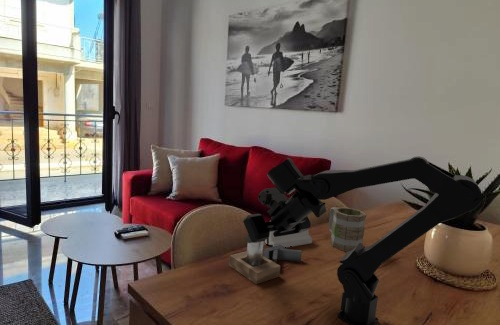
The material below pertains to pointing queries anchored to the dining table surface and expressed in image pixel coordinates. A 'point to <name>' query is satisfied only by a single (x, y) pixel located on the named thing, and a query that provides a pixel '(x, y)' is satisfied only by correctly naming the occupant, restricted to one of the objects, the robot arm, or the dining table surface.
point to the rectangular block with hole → (254, 268)
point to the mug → (346, 228)
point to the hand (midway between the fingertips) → (261, 238)
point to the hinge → (289, 239)
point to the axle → (255, 253)
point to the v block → (282, 254)
